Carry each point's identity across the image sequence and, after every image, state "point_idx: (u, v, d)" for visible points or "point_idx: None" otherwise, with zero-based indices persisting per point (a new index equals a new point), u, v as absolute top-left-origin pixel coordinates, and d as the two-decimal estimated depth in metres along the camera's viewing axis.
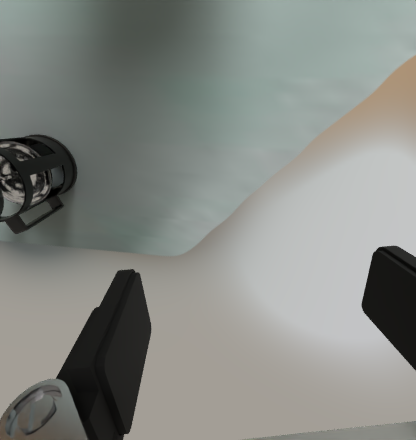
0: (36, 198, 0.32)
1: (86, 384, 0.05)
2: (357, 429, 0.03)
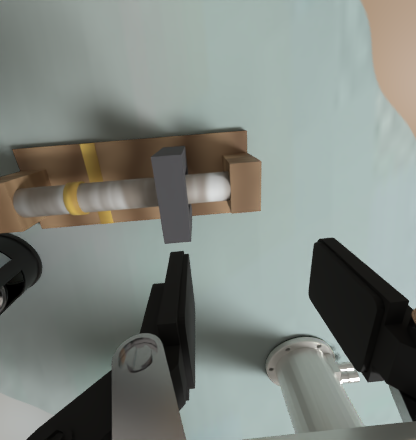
0: None
1: (170, 339, 0.06)
2: (357, 429, 0.03)
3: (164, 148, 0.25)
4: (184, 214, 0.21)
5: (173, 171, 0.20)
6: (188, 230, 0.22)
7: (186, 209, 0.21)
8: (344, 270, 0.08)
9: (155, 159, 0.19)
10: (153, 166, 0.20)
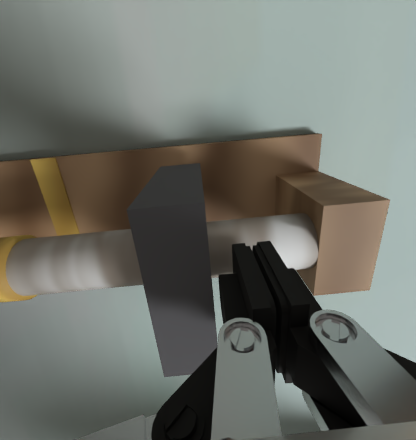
0: None
1: (262, 323, 0.07)
2: (357, 429, 0.03)
3: (163, 170, 0.14)
4: (207, 325, 0.10)
5: (184, 241, 0.08)
6: None
7: (212, 316, 0.09)
8: (266, 273, 0.08)
9: (139, 215, 0.08)
10: (134, 231, 0.08)
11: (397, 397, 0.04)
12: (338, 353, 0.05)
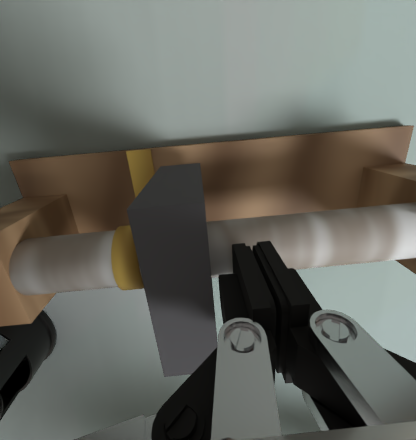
0: None
1: (262, 323, 0.07)
2: (357, 429, 0.03)
3: (163, 170, 0.14)
4: (207, 324, 0.10)
5: (184, 241, 0.08)
6: None
7: (212, 316, 0.09)
8: (266, 273, 0.08)
9: (139, 214, 0.08)
10: (134, 230, 0.08)
11: (397, 397, 0.04)
12: (338, 353, 0.05)
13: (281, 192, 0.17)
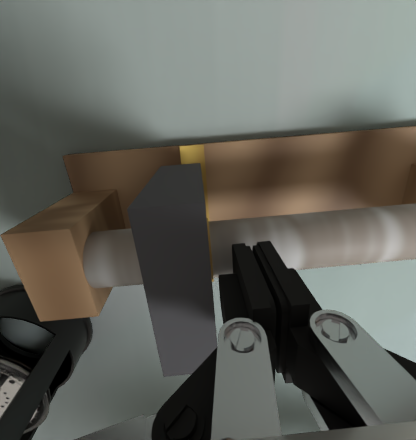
0: None
1: (262, 323, 0.07)
2: (357, 429, 0.03)
3: (163, 169, 0.14)
4: (206, 324, 0.10)
5: (184, 240, 0.08)
6: None
7: (212, 316, 0.09)
8: (266, 273, 0.08)
9: (139, 214, 0.08)
10: (134, 230, 0.08)
11: (397, 397, 0.04)
12: (338, 353, 0.05)
13: (328, 189, 0.17)
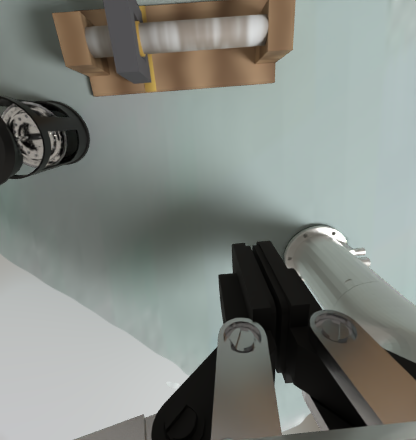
0: None
1: (262, 323, 0.07)
2: (357, 429, 0.03)
3: None
4: (131, 41, 0.25)
5: None
6: (136, 59, 0.26)
7: (132, 36, 0.25)
8: (266, 273, 0.08)
9: None
10: None
11: (397, 397, 0.04)
12: (338, 353, 0.05)
13: None
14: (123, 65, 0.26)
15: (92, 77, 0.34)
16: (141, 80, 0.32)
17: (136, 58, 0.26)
